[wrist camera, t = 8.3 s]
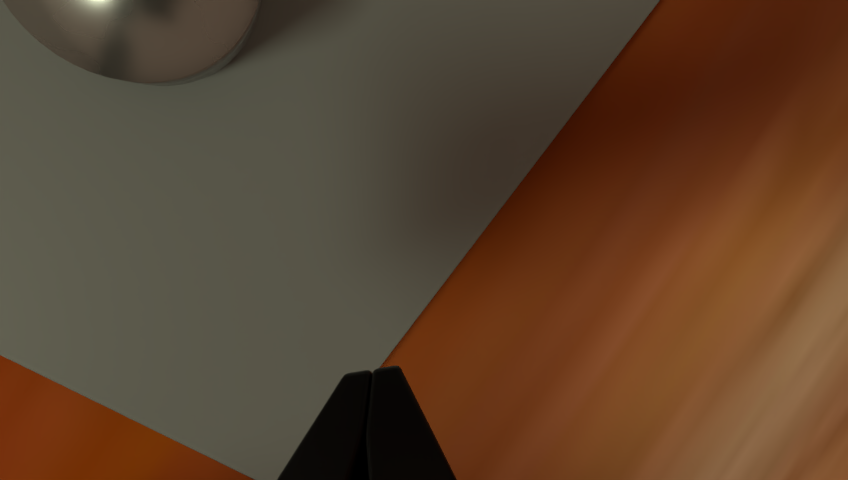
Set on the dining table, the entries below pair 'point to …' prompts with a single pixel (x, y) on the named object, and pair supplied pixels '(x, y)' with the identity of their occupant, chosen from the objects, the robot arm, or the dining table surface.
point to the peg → (141, 35)
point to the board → (271, 202)
